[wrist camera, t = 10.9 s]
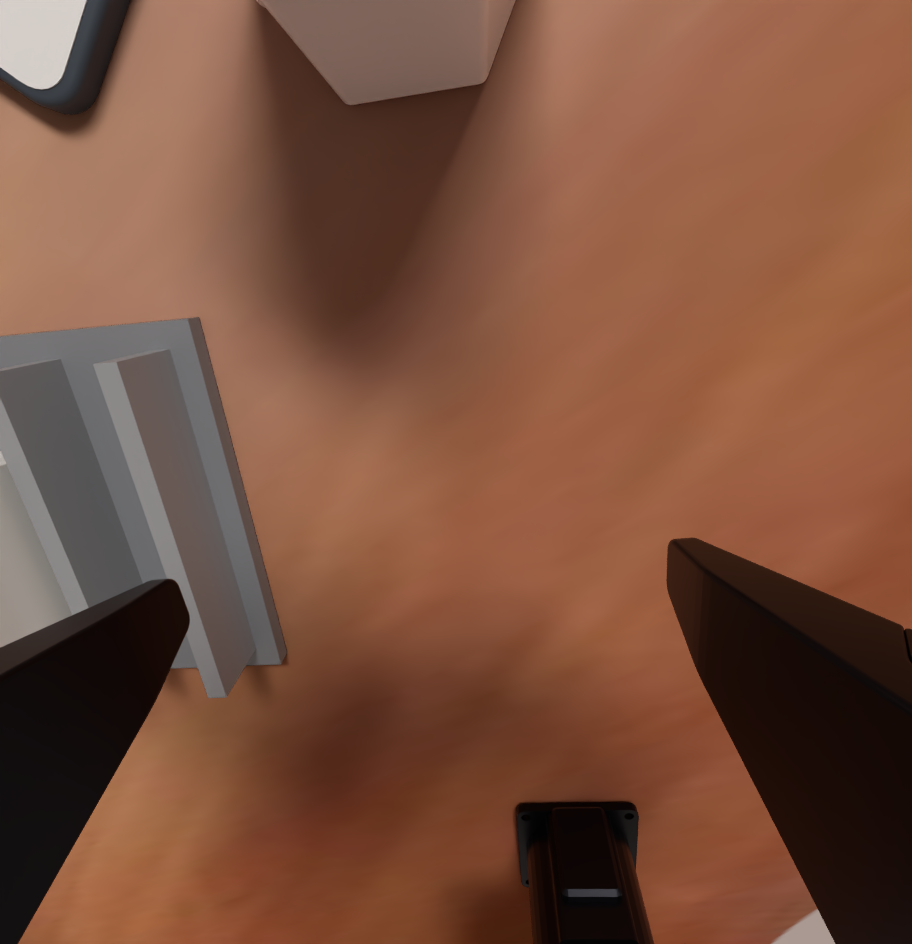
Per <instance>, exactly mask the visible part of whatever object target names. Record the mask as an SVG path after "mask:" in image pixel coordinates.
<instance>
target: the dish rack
mask: <svg viewBox="0 0 912 944" xmlns="http://www.w3.org/2000/svg"><path fill="white" fill-rule="evenodd" d="M0 451H1V453H2V455H3V457H4V459H5V462H6V464H7V466H8V469H9V471H10V473H11V475H12V478H13V480H14V482H15V485H16V487H17V489H18V492H19V494H20V496H21V498H22V501H23V503H24V505H25V508H26V510H27V512H28V514H29V517H30V519H31V521H32V524H33V526H34V528H35V530H36V533H37V535H38V537H39V540H40V542H41V544H42V546H43V549H44V551H45V553H46V556H47V558H48V560H49V562H50V565H51V567H52V569H53V572H54V574H55V576H56V578H57V581H58V583H59V585H60V588H61V590H62V592H63V594H64V597H65V599H66V601H67V604H68V606H69V608H70V610H71V613H72V615H74V614H76V613H78V612H81V611H83V610H85V609H87V608H89V607H92V606H94V605H96V604H98V603H101V602H103V601H105V600H107V599H109V598H112V597H114V596H116V595H118V594H121V593H123V592H125V591H127V590H129V589H132V588H134V587H136V586H138V585H141V584H143V583H145V582H147V581H150V580H156V579H173V580H175V581H176V582H177V583H178V585H179V587H180V590H181V593H182V595H183V598H184V601H185V604H186V606H187V609H188V612H189V615H190V625H189V628H188V631H187V633H186V635H185V638H184V640H183V642H182V644H181V646H180V649H179V651H178V653H177V655H176V657H175V660H174V662H173V664H172V666H171V668H197V667H198V670H199V672H200V675H201V678H202V681H203V684H204V687H205V690H206V693H207V696H208V698H224V697H227V696H228V694H229V693H230V691H231V689H232V688H233V686H234V684H235V683H236V681H237V679H238V678H239V676H240V674H241V673H242V671H243V669H244V668H245V666H250V665H276V664H281V663H282V662H283V660H284V658H285V656H286V654H287V651H286V647H285V643H284V639H283V635H282V632H281V628H280V624H279V620H278V616H277V613H276V609H275V605H274V601H273V597H272V594H271V590H270V586H269V582H268V578H267V575H266V571H265V567H264V563H263V559H262V556H261V552H260V548H259V544H258V540H257V536H256V533H255V529H254V525H253V521H252V517H251V514H250V510H249V506H248V502H247V498H246V495H245V491H244V487H243V483H242V479H241V476H240V472H239V468H238V464H237V460H236V457H235V453H234V449H233V445H232V441H231V437H230V434H229V430H228V426H227V422H226V418H225V415H224V411H223V407H222V403H221V399H220V396H219V392H218V388H217V384H216V380H215V377H214V373H213V369H212V365H211V361H210V358H209V354H208V350H207V346H206V342H205V338H204V335H203V331H202V327H201V323H200V319H199V317H195V318H185V319H174V320H164V321H153V322H143V323H132V324H122V325H111V326H101V327H90V328H80V329H69V330H59V331H48V332H38V333H27V334H17V335H6V336H0Z"/></svg>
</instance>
